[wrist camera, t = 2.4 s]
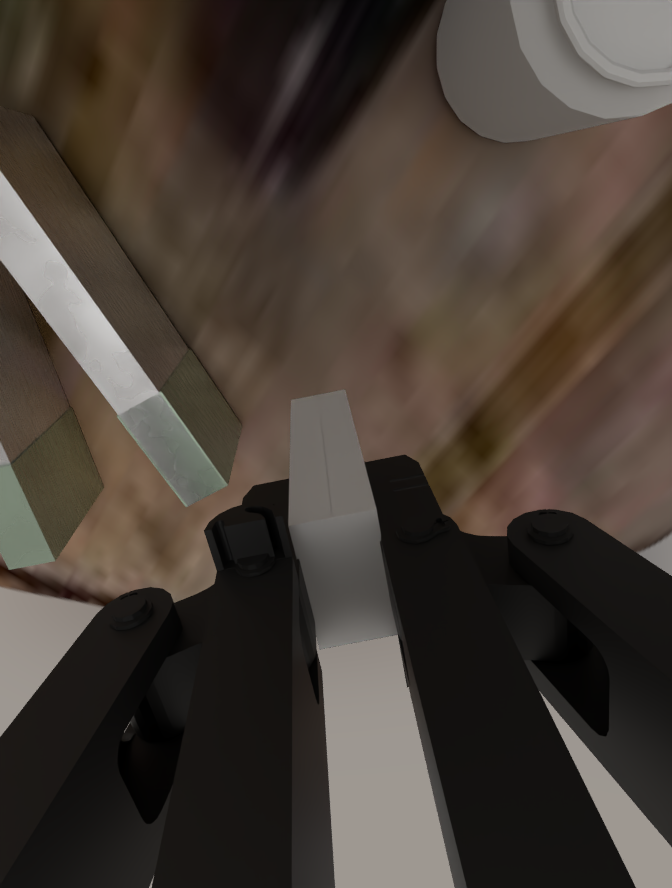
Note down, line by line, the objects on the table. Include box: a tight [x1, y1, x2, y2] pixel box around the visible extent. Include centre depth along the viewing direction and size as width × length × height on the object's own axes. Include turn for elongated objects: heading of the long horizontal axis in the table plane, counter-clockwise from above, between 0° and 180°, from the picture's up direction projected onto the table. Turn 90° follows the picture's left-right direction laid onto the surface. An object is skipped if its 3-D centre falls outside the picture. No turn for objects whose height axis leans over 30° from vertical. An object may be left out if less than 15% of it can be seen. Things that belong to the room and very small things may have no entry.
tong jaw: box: [0, 107, 242, 507], centre depth 25 cm, size 17×2×7 cm, turn 28°
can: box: [437, 0, 672, 143], centre depth 20 cm, size 8×8×12 cm
